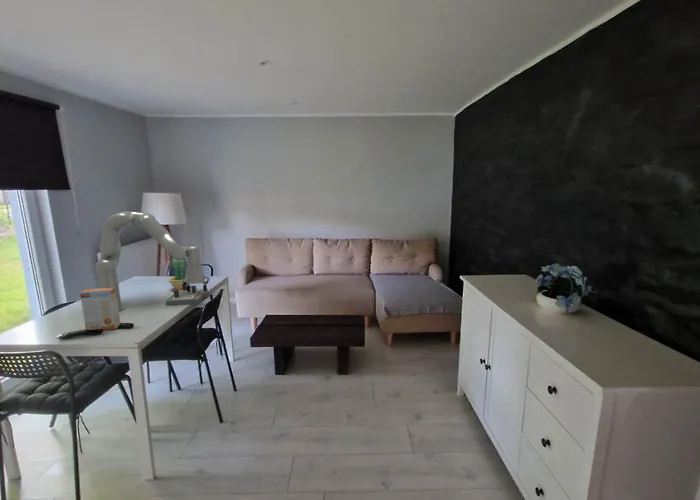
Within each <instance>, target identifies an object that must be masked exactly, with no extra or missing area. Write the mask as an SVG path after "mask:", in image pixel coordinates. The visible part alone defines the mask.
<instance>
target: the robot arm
mask: <svg viewBox="0 0 700 500" xmlns="http://www.w3.org/2000/svg"><path fill="white" fill-rule="evenodd" d="M129 226H131V227H141V228H142V229H143V230H144V231H146V232H147V233H148V234H149V235H150V236H151V237H152V238H153V239H154V240H155V241H156V242H157V243H158V244H159V245H160V246H161V247H162V248H163V249H164V250H165V251H166V252H167V254H169V255H170V256H171V257H172V259H173V258H174V259H176V260H183V259H185V257H187V260H188V262H187V264H186V271H185V276H186V277H185V278H183V279H182V280H181V281H182V282H183V284H184V285H186V286H187V291H188V292H190V289H191V285H190V284H202V287H203V288H202V289H204V291H206V290H207V289H208V288H207V284H208V283H209V282H210V281H211V277H209V276H206V275H205V272H204V269H203V266H202V263H201V252H200V251H201V250H200V247H199V246H198V245H190V246H184V245H183V246H181V245H179V244H178V243H177V242H176V241H175V239H174V238H173V237H172V236H171V232H169V231H168V229H166V228H165V227H164V226H163V225H162V224H161V223H160V222H159V221H158V220H157V218H156V216H154V215H153V214H151V213H146V212H145V213H144V212H135V211H125V210H124V211H121V212H118V213H117V212H116V213H115V214H112V215H110V216H109V217H107V219H105V221H104V223H103V227H102V232H101V238H100V244H99V251H100V259H98V260H97V262H96V263H95V267H94V268H95V274H96V277H97V278H96V279H97V282H98V283H97V284H98V288H115V289H116V296H117V303H118V310H119V312H120V311H123V310H125V308H126V306H125V305H123V304H122V298H121V292H120V285H119V284H120V283H119V279H118V273H117V268H118V265H119V263H120V256H121V250H122V243H121V241H120V235H121V231H122V229H123V228H125V227H129ZM186 279H187V283H186V282H185V280H186ZM205 280H206V281H205Z"/></svg>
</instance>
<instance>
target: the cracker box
mask: <svg viewBox="0 0 700 500" xmlns="http://www.w3.org/2000/svg"><path fill="white" fill-rule="evenodd" d="M79 295H80V301H81V302H80V303H81V307H82V314H83V320H84V326H85V330H87V329H96V328H99V329H102V330H101V331H113V330H117V328H119V327H120V326H119V325H120V324H121V317H120V311H119V310H118V303H117V296H116V289H115V288H99V287H98V288H87V289H84V290H82V291H80V292H79ZM118 326H119V327H118Z"/></svg>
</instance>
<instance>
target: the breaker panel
mask: <svg viewBox="0 0 700 500" xmlns="http://www.w3.org/2000/svg"><path fill="white" fill-rule="evenodd" d="M182 288H183V290H180V291H179V290H173V294H172V295H171V296H170V297H169V298H168V299H166V300H165V306H166V307H171V306H185V305H187V306H189V305H190V306H191V305H199V304H200V303H201V302H202V301H203V300H204V298H205V297H206V296H207V295H208V294H209V289H208V288H207V290H206V291H204V289H203V288H202V287H200V288H199V287H198V288H197V287H196V292H195V293H192V288H190V292H188V291H187V286H186V285H184V284H182Z"/></svg>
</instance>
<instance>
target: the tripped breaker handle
mask: <svg viewBox="0 0 700 500" xmlns="http://www.w3.org/2000/svg"><path fill="white" fill-rule="evenodd" d="M196 288H197V286H196V285H192V286H191V289H192V293H195V292H196Z"/></svg>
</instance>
